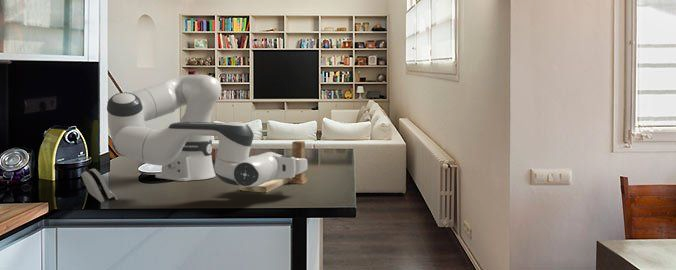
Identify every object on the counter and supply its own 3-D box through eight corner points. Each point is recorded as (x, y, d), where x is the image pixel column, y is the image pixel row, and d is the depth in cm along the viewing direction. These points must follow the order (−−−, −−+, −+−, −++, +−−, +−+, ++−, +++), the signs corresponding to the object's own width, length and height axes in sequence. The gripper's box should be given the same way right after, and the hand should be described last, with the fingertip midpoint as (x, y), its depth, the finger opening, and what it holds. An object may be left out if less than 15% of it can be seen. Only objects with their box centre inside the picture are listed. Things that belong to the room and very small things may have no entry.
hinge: (118, 199, 157) (105, 170, 154) (102, 206, 155) (89, 177, 152) (104, 190, 171) (92, 163, 167) (90, 196, 168) (77, 169, 165)
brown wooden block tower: (285, 182, 186) (284, 141, 184) (290, 180, 191) (290, 140, 189) (302, 184, 184) (302, 142, 182) (307, 181, 189) (307, 141, 187)
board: (239, 190, 172) (239, 184, 172) (267, 178, 193) (267, 173, 193) (266, 192, 169) (266, 186, 169) (291, 180, 190) (291, 175, 190)
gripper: (239, 173, 165) (258, 167, 178) (297, 178, 159) (313, 171, 172) (239, 154, 164) (258, 149, 178) (298, 158, 158) (313, 152, 171)
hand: (285, 160), depth 175 cm, fingers open, 8 cm apart
